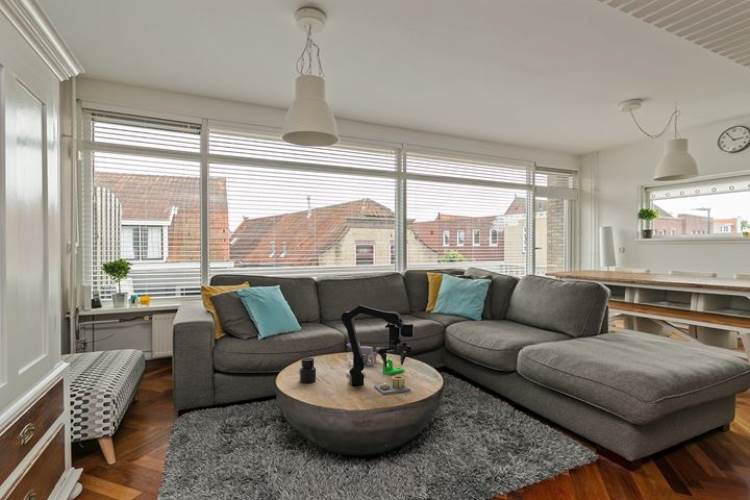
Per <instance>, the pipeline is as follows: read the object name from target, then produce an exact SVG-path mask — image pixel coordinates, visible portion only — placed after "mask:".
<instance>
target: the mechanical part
mask: <svg viewBox="0 0 750 500" xmlns="http://www.w3.org/2000/svg"><path fill="white" fill-rule="evenodd" d="M386 363H387V365H386V367H385V365H384V363H383V362H382V373H383V374H386V375H388V376H393V375H397V374H402V373H403V372H404V367H401V366H397V367H393V363H394V362H393V361H392V360H391V359H389V358H386Z"/></svg>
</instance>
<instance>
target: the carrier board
mask: <svg viewBox="0 0 750 500" xmlns="http://www.w3.org/2000/svg"><path fill="white" fill-rule="evenodd" d="M373 388H375V389H376V390H377V391H378V392H379V393H380V394H381V395H383V396H384V395H389V394H390V395H391V394H399V393H404V392H410V391H411V388H410V387H408V386H407V385H405V387H404V388H393V387H392V382H388V383H379V384H374V387H373Z"/></svg>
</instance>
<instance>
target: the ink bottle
mask: <svg viewBox="0 0 750 500" xmlns="http://www.w3.org/2000/svg"><path fill="white" fill-rule="evenodd" d="M300 365H301V367H300V368H299V376H298V377H299V382H300V383H302V384H303V383H304V384H310V383H311V384H312V383H314V382H316V380H317V368H316V367H315V358H314V357H309V356H308V357H302V358H301V364H300Z"/></svg>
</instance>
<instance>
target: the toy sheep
mask: <svg viewBox="0 0 750 500" xmlns="http://www.w3.org/2000/svg"><path fill="white" fill-rule="evenodd" d="M358 342H359V346H360V350H361V353H362V354H363V355H366V360H367V362H369V360H370V363H371V365H370V366H371V367H372V366H374V363H377V357H378V354H377V353H376V351H374V347H373V346H366V345H365V346H364V345H361V342H360V341H359V340H358ZM346 346H347V347H349V348H350V349H352V348H351V344H350V342H349V343H347V344H346Z"/></svg>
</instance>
